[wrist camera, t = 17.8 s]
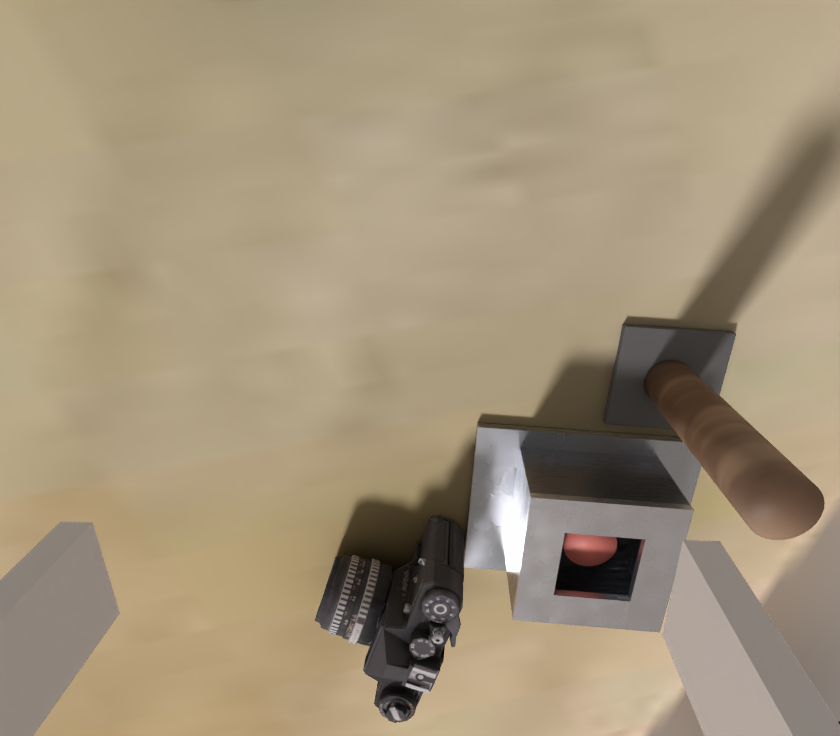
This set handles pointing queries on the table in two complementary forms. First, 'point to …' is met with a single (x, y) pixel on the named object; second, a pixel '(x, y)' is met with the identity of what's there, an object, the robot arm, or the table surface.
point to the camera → (400, 614)
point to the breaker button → (589, 548)
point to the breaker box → (580, 521)
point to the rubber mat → (650, 347)
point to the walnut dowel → (735, 454)
